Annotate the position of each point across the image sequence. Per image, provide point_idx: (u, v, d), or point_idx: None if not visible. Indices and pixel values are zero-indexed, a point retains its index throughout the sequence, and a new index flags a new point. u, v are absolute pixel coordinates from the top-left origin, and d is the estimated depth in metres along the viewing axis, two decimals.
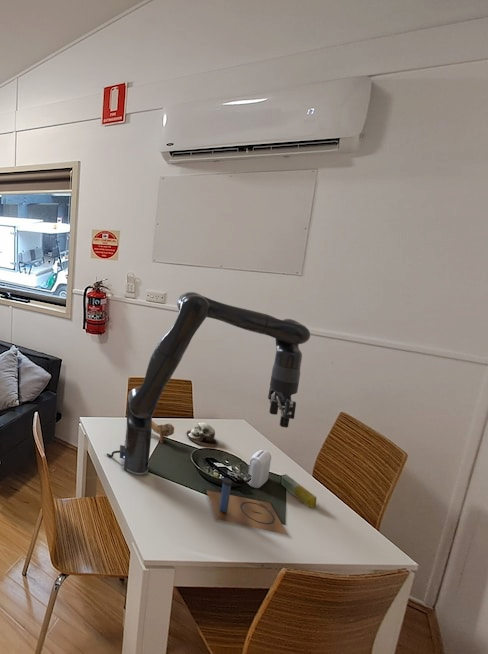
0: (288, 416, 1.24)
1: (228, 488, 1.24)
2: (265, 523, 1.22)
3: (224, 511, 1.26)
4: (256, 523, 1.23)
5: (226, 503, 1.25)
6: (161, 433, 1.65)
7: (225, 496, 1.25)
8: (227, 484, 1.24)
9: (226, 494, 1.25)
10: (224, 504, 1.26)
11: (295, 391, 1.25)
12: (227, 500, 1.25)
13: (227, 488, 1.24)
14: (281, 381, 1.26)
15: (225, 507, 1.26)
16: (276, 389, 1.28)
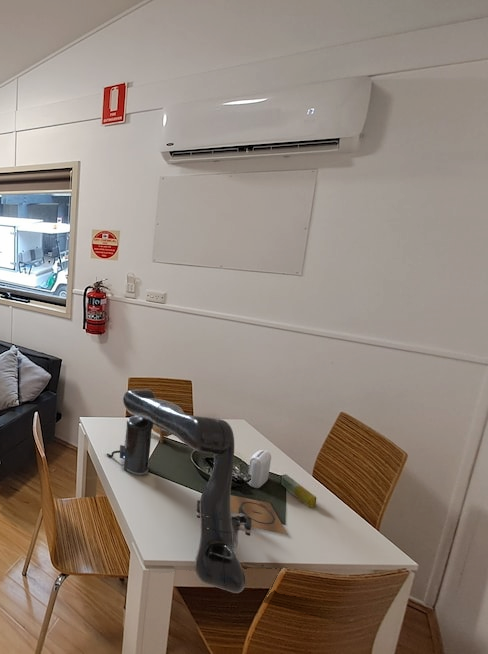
0: None
1: None
2: (265, 523, 1.22)
3: None
4: (256, 523, 1.23)
5: None
6: (161, 433, 1.65)
7: None
8: None
9: None
10: None
11: None
12: None
13: None
14: None
15: None
16: None
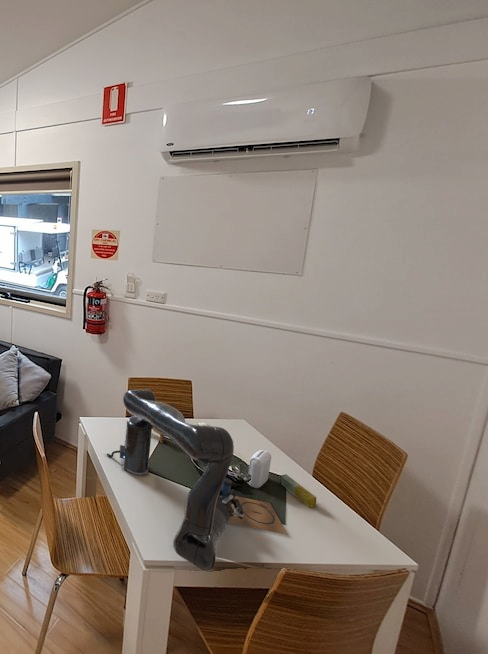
0: None
1: (228, 488, 1.24)
2: (265, 523, 1.22)
3: None
4: (256, 523, 1.23)
5: None
6: (161, 433, 1.65)
7: (225, 496, 1.25)
8: (227, 484, 1.24)
9: (226, 494, 1.25)
10: None
11: None
12: None
13: (227, 488, 1.24)
14: None
15: None
16: None
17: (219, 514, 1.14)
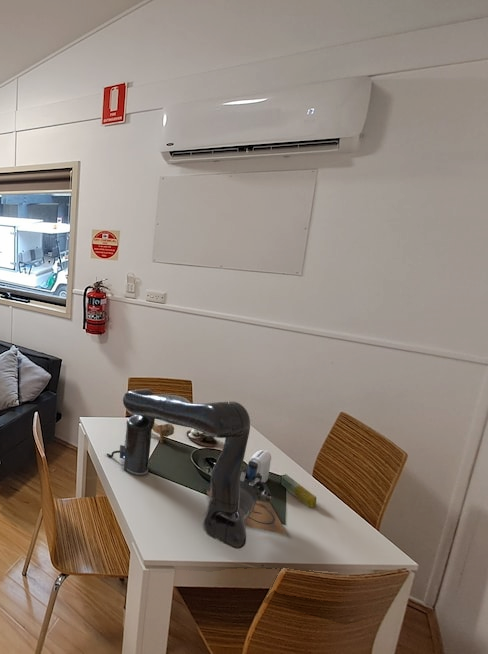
0: None
1: (254, 471, 1.24)
2: (265, 523, 1.22)
3: None
4: (256, 523, 1.23)
5: None
6: (161, 433, 1.65)
7: (251, 479, 1.25)
8: (253, 467, 1.24)
9: (252, 477, 1.24)
10: None
11: None
12: None
13: (253, 471, 1.24)
14: None
15: None
16: None
17: (247, 495, 1.13)
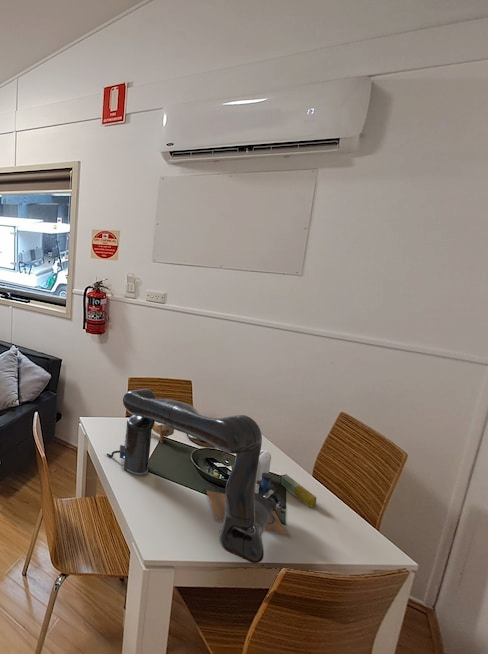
0: None
1: (268, 483, 1.24)
2: None
3: None
4: None
5: None
6: (161, 433, 1.65)
7: (265, 491, 1.25)
8: (267, 479, 1.24)
9: (265, 489, 1.24)
10: None
11: None
12: None
13: (267, 482, 1.24)
14: None
15: None
16: None
17: (263, 508, 1.13)
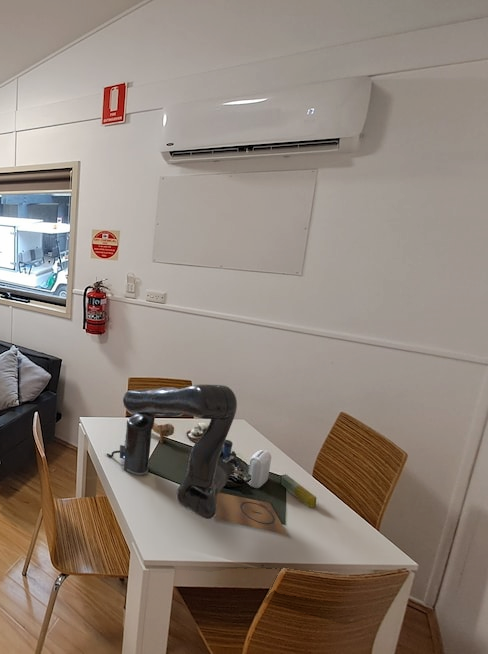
0: None
1: (229, 449, 1.29)
2: (265, 523, 1.22)
3: None
4: (256, 523, 1.23)
5: None
6: (161, 433, 1.65)
7: (226, 457, 1.29)
8: (228, 445, 1.29)
9: (227, 455, 1.29)
10: None
11: None
12: None
13: (228, 449, 1.29)
14: None
15: None
16: None
17: (220, 470, 1.18)
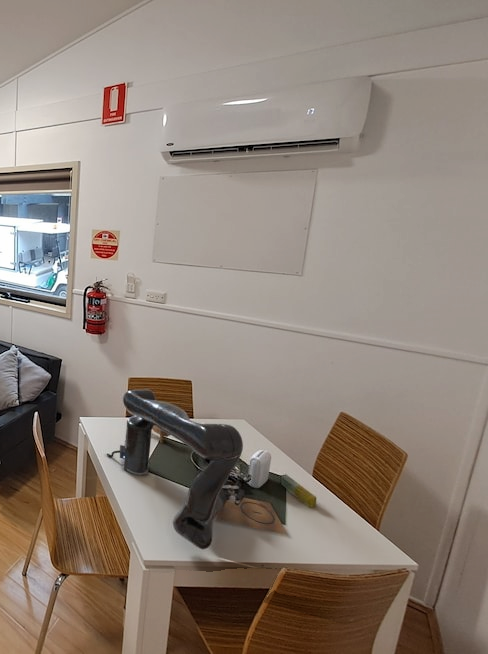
0: None
1: None
2: (265, 523, 1.22)
3: None
4: (256, 523, 1.23)
5: None
6: (161, 433, 1.65)
7: None
8: None
9: None
10: None
11: None
12: None
13: None
14: None
15: None
16: None
17: None
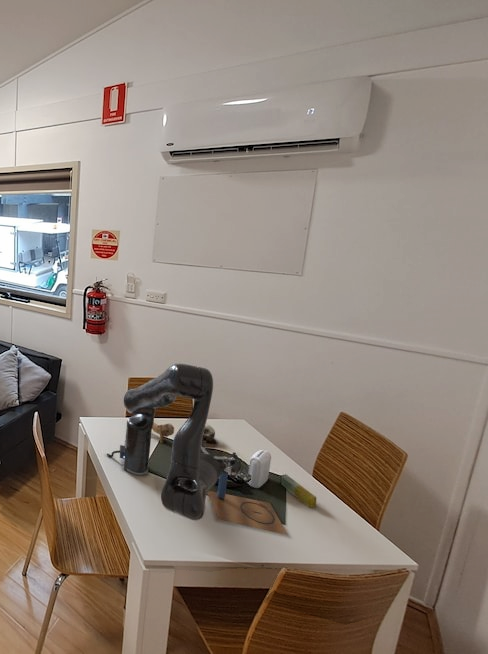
0: None
1: (225, 475, 1.30)
2: (265, 523, 1.22)
3: (222, 497, 1.32)
4: (256, 523, 1.23)
5: (223, 490, 1.31)
6: (161, 433, 1.65)
7: (223, 483, 1.31)
8: None
9: (223, 481, 1.31)
10: (222, 491, 1.32)
11: None
12: (224, 487, 1.31)
13: (224, 475, 1.31)
14: None
15: (223, 494, 1.32)
16: None
17: (210, 468, 1.08)
